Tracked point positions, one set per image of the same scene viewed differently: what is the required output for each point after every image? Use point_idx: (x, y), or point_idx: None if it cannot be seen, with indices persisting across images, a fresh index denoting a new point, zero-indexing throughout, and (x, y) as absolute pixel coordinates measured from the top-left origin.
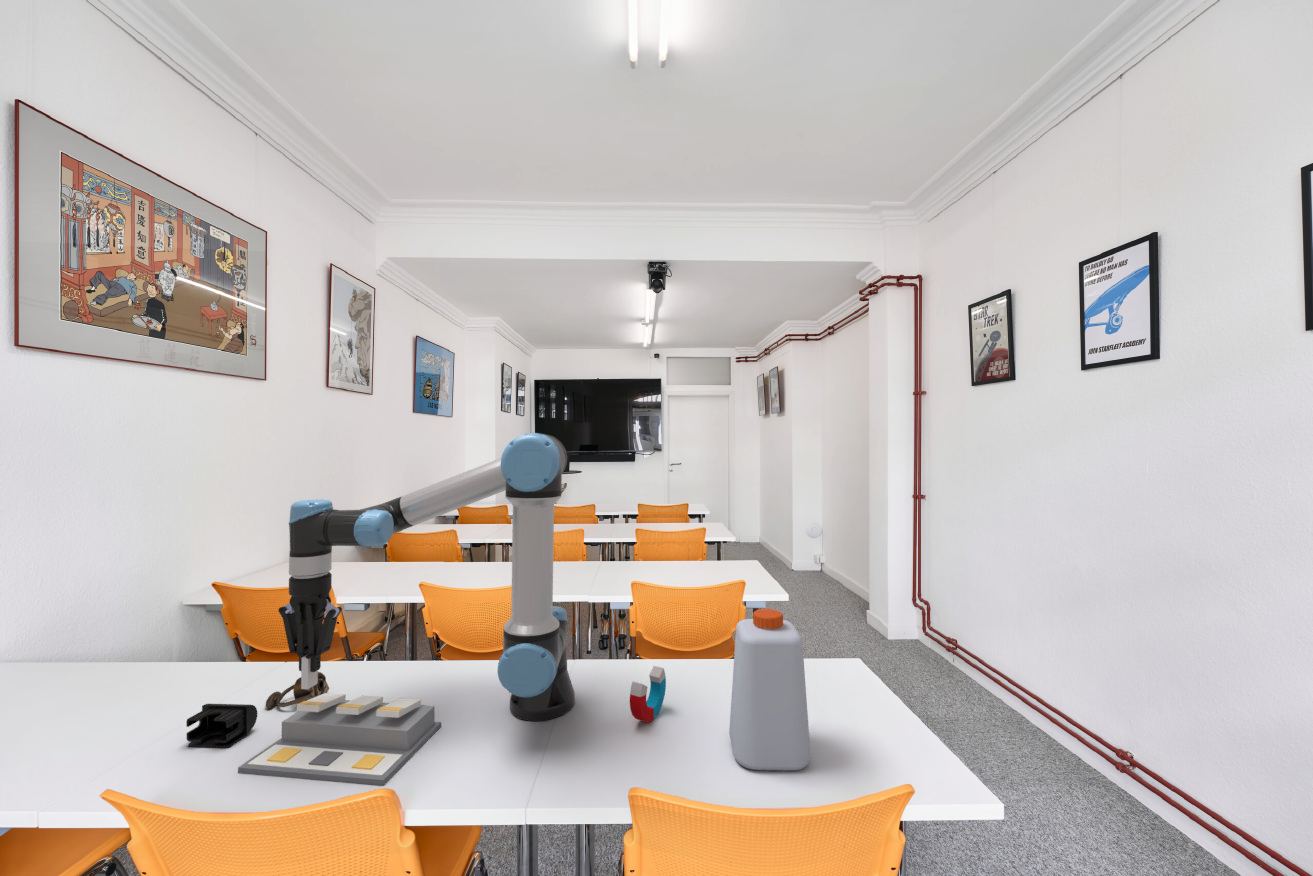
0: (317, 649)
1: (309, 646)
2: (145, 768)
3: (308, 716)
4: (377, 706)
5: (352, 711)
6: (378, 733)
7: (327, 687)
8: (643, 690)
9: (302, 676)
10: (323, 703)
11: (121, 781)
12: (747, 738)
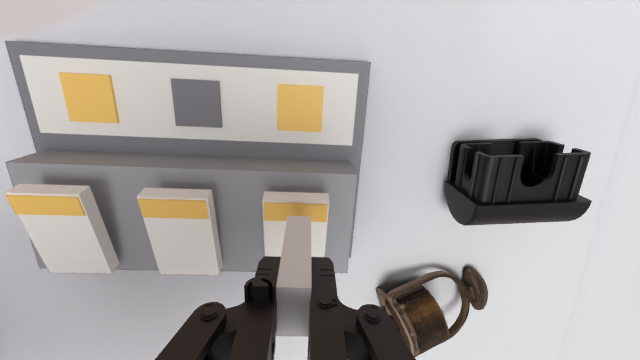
0: (214, 325)
1: (262, 337)
2: (573, 63)
3: None
4: None
5: (159, 192)
6: (95, 161)
7: None
8: None
9: (305, 238)
10: (264, 215)
11: (590, 15)
12: None
